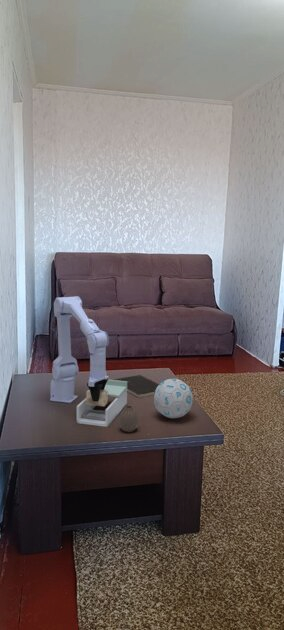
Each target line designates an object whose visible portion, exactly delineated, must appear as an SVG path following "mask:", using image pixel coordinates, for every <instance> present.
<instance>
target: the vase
mask: <svg viewBox="0 0 284 630" xmlns="http://www.w3.org/2000/svg"><path fill="white" fill-rule="evenodd" d="M118 422H119V423H118V425H119V427H120V429H121V430H122V431H124V432H126V433H131V432H134V431H135V430H137V427H138V424H139V416H138V413H137V411H135V409H134V407H133V405H125V406H124V409H122V410H121V413H119V418H118Z"/></svg>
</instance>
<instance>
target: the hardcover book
mask: <svg viewBox="0 0 284 630" xmlns="http://www.w3.org/2000/svg"><path fill="white" fill-rule="evenodd" d="M112 380H118V381H127V393H130V394H131V393H132V395H133V396H135V397H137V398H142V397H143V398H144V397H149V396H154V394H155V390H156V388H157V387H158V385H159V384H160V383H158V382H155V381H153V380H151V379H149V378H147V377H145V376H143V375H142V374H139V375H131V376H125V377H119V378H113V379H112Z"/></svg>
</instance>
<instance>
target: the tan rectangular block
mask: <svg viewBox="0 0 284 630" xmlns="http://www.w3.org/2000/svg"><path fill="white" fill-rule="evenodd" d="M85 396H86V397H85V398H86V404H88V405H96V406H98V407H105V406H106V405H107V404H108V399H109V398H108V397H109V396H108V390H102V389H101V390H100V396H99V401H98V402H95V401H93V400H92V397H91V393H90V390H89V389H88V390H86V395H85ZM96 406H95V407H96Z"/></svg>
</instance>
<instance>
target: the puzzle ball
mask: <svg viewBox="0 0 284 630" xmlns="http://www.w3.org/2000/svg"><path fill="white" fill-rule="evenodd" d="M158 384H159V385H158V387H157V388H156V390H155V394H154V395H153V402H154V403H153V404H154V407H155V408H156V410H157V411H158V413H160V414H161V415H163V416H164V417H166V418H168V419H180V418H182V417H184V416H185V415H186V414H188V412H189V411H190V410H191V409H192V406H193V401H194V396H193V392H192V389H191V388H190V386H189V385H188V384H187V383H186V382H185V381H183V380H182V379H178V378H168V379H166V380H163V381H161V382H160V383H158Z"/></svg>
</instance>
